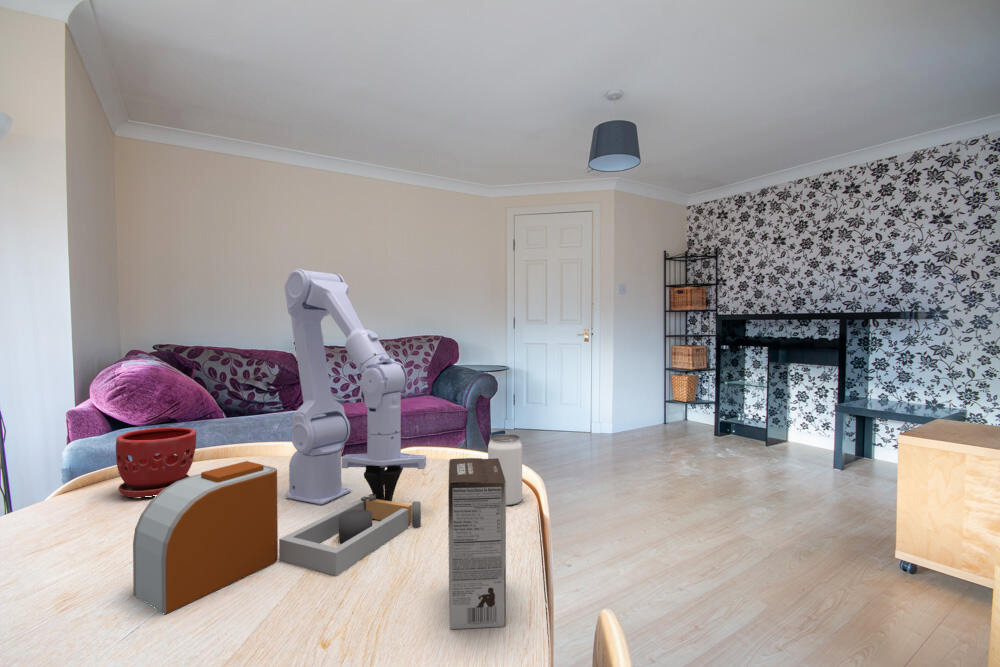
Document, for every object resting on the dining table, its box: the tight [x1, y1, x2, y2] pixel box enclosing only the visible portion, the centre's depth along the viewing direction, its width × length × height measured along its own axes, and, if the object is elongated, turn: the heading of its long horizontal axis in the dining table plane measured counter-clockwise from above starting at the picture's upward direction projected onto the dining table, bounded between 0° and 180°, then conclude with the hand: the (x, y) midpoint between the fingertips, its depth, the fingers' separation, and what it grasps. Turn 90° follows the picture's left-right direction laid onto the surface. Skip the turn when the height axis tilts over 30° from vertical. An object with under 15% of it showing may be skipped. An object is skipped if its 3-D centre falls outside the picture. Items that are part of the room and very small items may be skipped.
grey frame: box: [278, 496, 409, 576], centre depth 71 cm, size 10×18×3 cm, turn 156°
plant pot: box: [115, 426, 197, 498], centre depth 93 cm, size 13×13×12 cm
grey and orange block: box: [132, 460, 279, 615], centre depth 61 cm, size 15×8×14 cm, turn 150°
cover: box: [366, 493, 422, 528], centre depth 78 cm, size 10×1×4 cm, turn 68°
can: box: [487, 433, 523, 507], centre depth 87 cm, size 6×6×12 cm
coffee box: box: [447, 457, 507, 630], centre depth 54 cm, size 9×6×16 cm
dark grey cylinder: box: [338, 510, 373, 545], centre depth 72 cm, size 5×5×4 cm
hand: (384, 508), depth 81 cm, fingers closed
